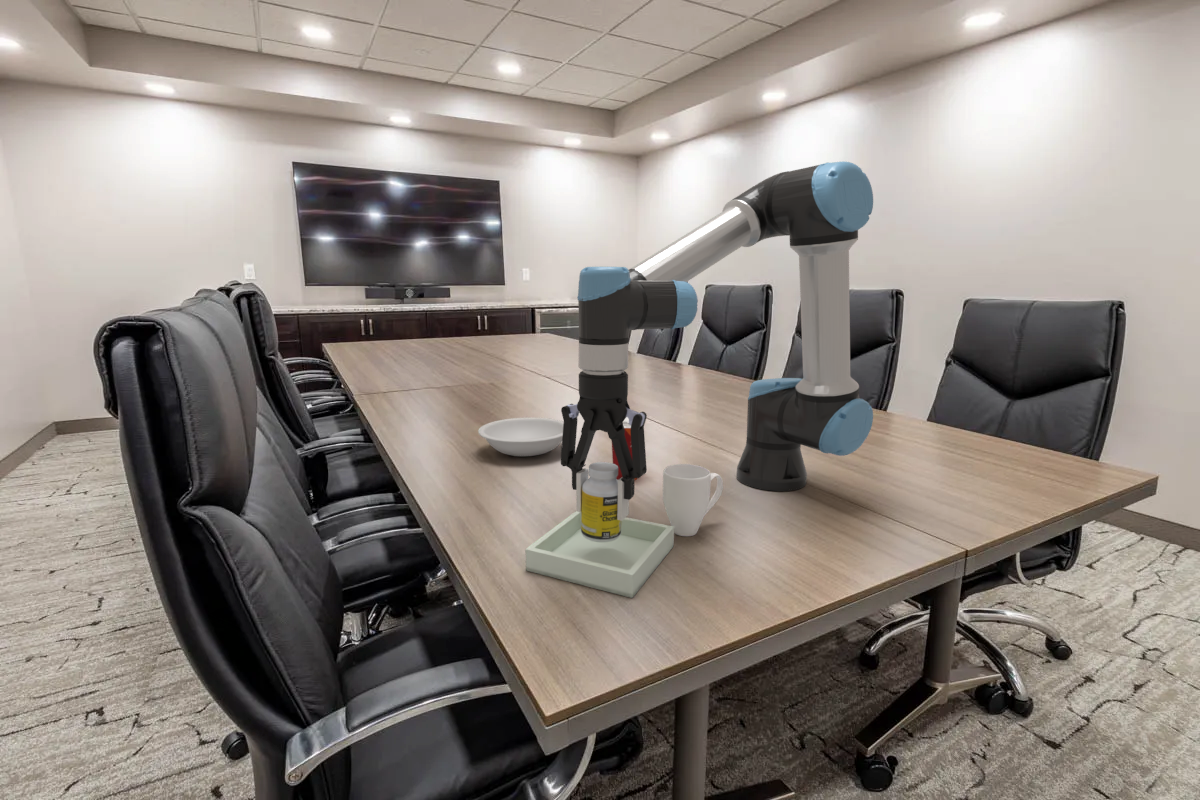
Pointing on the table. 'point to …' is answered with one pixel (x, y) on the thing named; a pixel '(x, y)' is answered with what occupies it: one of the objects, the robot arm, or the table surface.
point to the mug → (688, 496)
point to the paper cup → (628, 439)
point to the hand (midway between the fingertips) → (602, 512)
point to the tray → (601, 555)
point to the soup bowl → (523, 435)
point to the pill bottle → (600, 503)
